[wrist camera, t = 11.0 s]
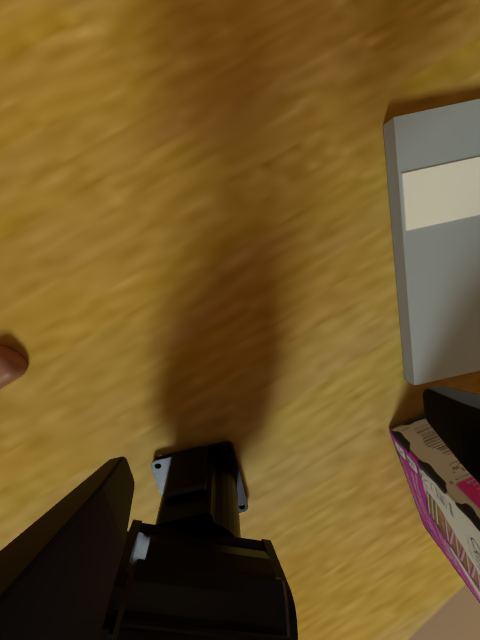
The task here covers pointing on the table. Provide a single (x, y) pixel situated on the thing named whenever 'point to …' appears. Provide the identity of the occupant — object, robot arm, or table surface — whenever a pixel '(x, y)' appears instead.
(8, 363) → the pizza slice
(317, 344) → the table surface
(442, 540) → the candy bar box
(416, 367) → the grey flat rectangular block
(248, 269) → the table surface
